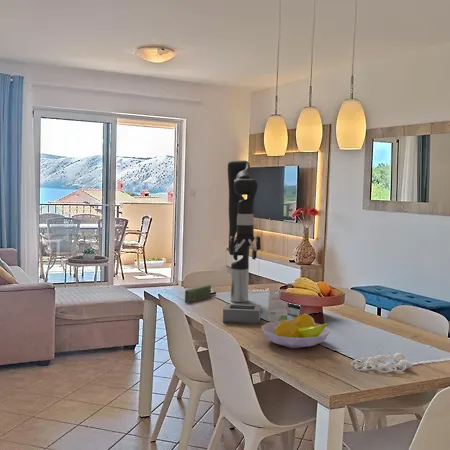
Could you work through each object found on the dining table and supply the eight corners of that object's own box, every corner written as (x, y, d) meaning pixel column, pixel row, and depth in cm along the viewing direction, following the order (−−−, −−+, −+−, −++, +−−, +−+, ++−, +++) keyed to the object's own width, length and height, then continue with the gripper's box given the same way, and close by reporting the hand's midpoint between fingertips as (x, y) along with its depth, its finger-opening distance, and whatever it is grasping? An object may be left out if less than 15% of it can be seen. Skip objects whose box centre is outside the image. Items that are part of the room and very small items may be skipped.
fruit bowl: (250, 337, 228) (250, 310, 227) (308, 331, 238) (309, 305, 237) (282, 358, 202) (282, 327, 201) (346, 350, 212) (346, 321, 211)
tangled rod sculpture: (357, 379, 186) (358, 367, 185) (347, 361, 200) (347, 350, 199) (416, 377, 186) (416, 366, 185) (401, 360, 200) (401, 349, 199)
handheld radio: (183, 302, 293) (212, 294, 313) (188, 303, 291) (217, 295, 311) (184, 289, 293) (213, 282, 313) (189, 290, 291) (218, 283, 311)
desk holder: (226, 316, 263) (226, 303, 263) (260, 317, 261) (260, 305, 260) (222, 322, 251) (223, 309, 251) (258, 324, 249) (258, 311, 249)
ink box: (287, 319, 259) (287, 287, 258) (287, 321, 254) (287, 289, 253) (268, 318, 260) (268, 287, 259) (268, 321, 255) (268, 289, 254)
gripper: (257, 222, 256) (256, 258, 258) (227, 223, 252) (227, 259, 253) (263, 224, 249) (262, 260, 251) (233, 224, 245) (232, 261, 246)
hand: (244, 259), depth 252 cm, fingers open, 8 cm apart
